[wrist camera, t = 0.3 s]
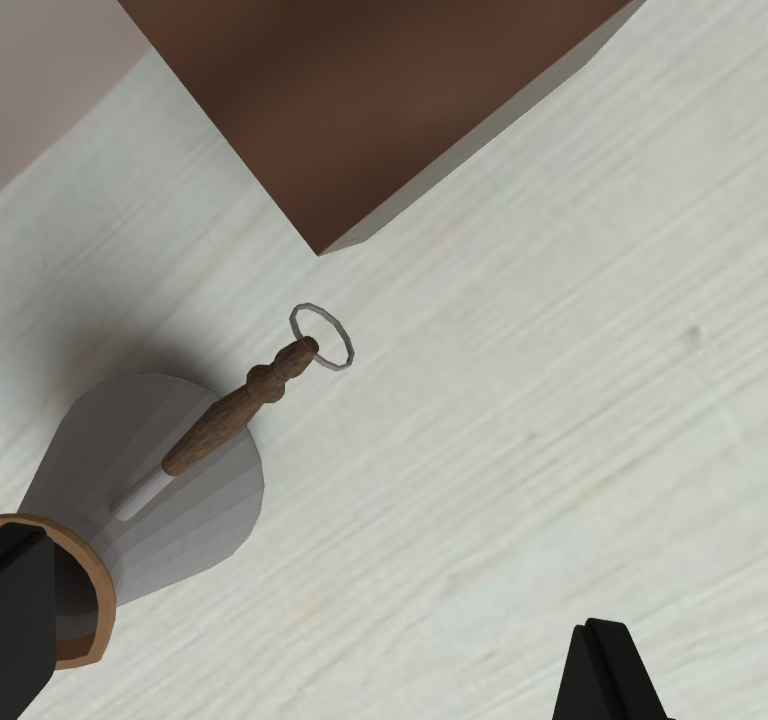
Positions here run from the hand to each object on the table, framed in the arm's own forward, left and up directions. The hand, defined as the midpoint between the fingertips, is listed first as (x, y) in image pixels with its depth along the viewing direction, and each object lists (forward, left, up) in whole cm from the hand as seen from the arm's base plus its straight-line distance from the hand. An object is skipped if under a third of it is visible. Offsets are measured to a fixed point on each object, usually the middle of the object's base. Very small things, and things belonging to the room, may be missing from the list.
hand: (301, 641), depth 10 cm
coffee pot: (+4, -8, -22) cm, 23 cm away
